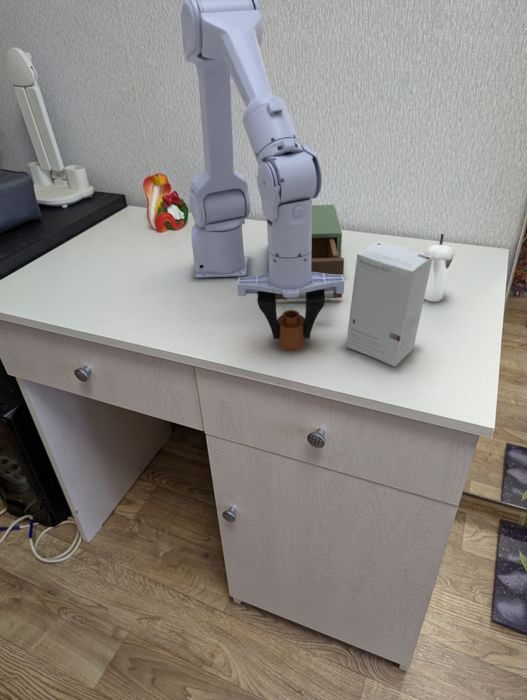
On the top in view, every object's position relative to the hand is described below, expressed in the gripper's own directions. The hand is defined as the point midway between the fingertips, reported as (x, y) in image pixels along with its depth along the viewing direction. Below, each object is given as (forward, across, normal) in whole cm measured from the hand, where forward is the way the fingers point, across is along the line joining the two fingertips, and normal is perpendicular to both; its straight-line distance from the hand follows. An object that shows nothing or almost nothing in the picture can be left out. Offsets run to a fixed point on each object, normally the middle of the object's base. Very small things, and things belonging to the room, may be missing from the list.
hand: (291, 335), depth 73 cm
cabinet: (+1, +3, +28) cm, 28 cm away
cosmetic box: (+2, +13, -2) cm, 13 cm away
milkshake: (+2, +24, +13) cm, 27 cm away
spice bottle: (+1, 0, 0) cm, 1 cm away
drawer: (0, +3, +15) cm, 15 cm away
